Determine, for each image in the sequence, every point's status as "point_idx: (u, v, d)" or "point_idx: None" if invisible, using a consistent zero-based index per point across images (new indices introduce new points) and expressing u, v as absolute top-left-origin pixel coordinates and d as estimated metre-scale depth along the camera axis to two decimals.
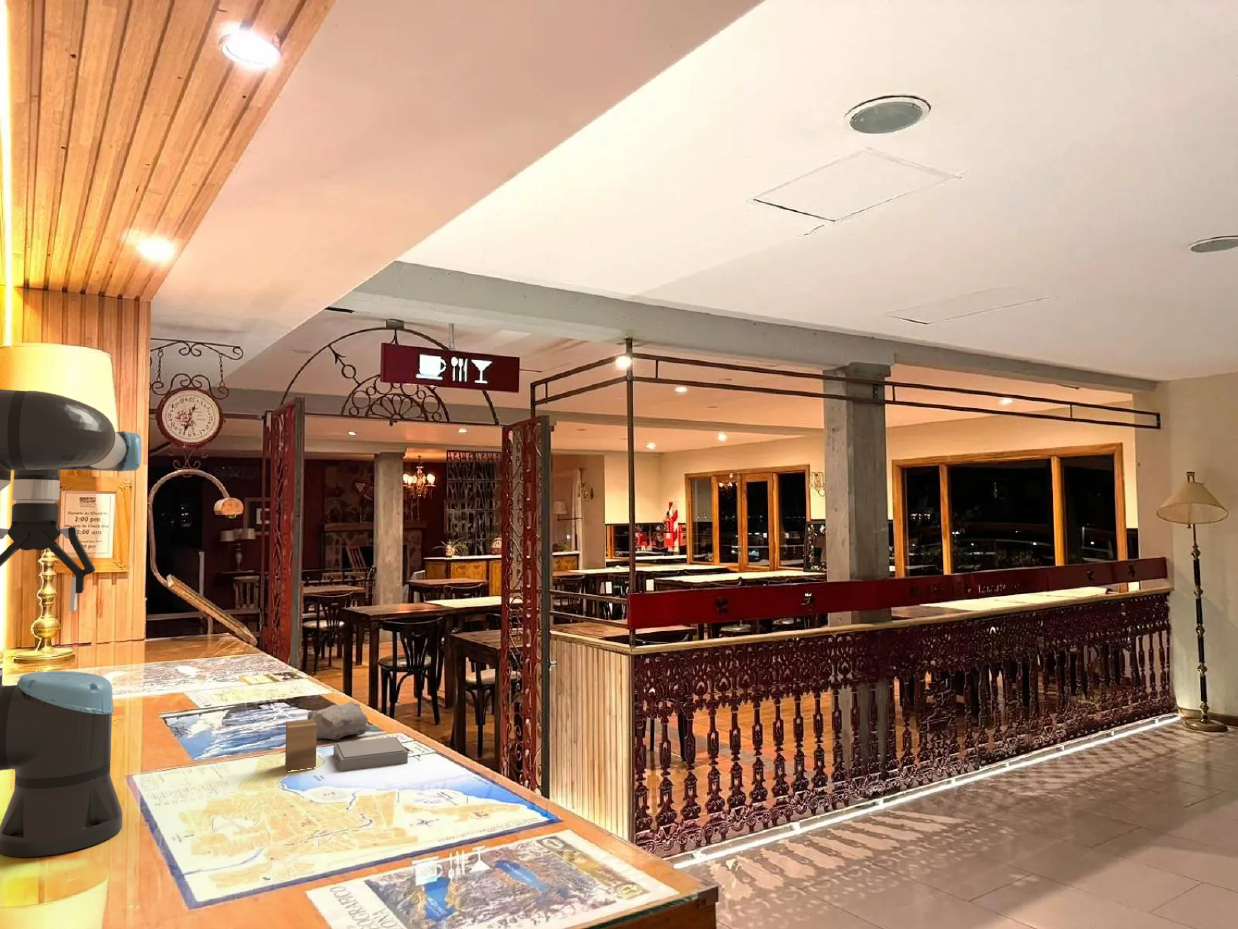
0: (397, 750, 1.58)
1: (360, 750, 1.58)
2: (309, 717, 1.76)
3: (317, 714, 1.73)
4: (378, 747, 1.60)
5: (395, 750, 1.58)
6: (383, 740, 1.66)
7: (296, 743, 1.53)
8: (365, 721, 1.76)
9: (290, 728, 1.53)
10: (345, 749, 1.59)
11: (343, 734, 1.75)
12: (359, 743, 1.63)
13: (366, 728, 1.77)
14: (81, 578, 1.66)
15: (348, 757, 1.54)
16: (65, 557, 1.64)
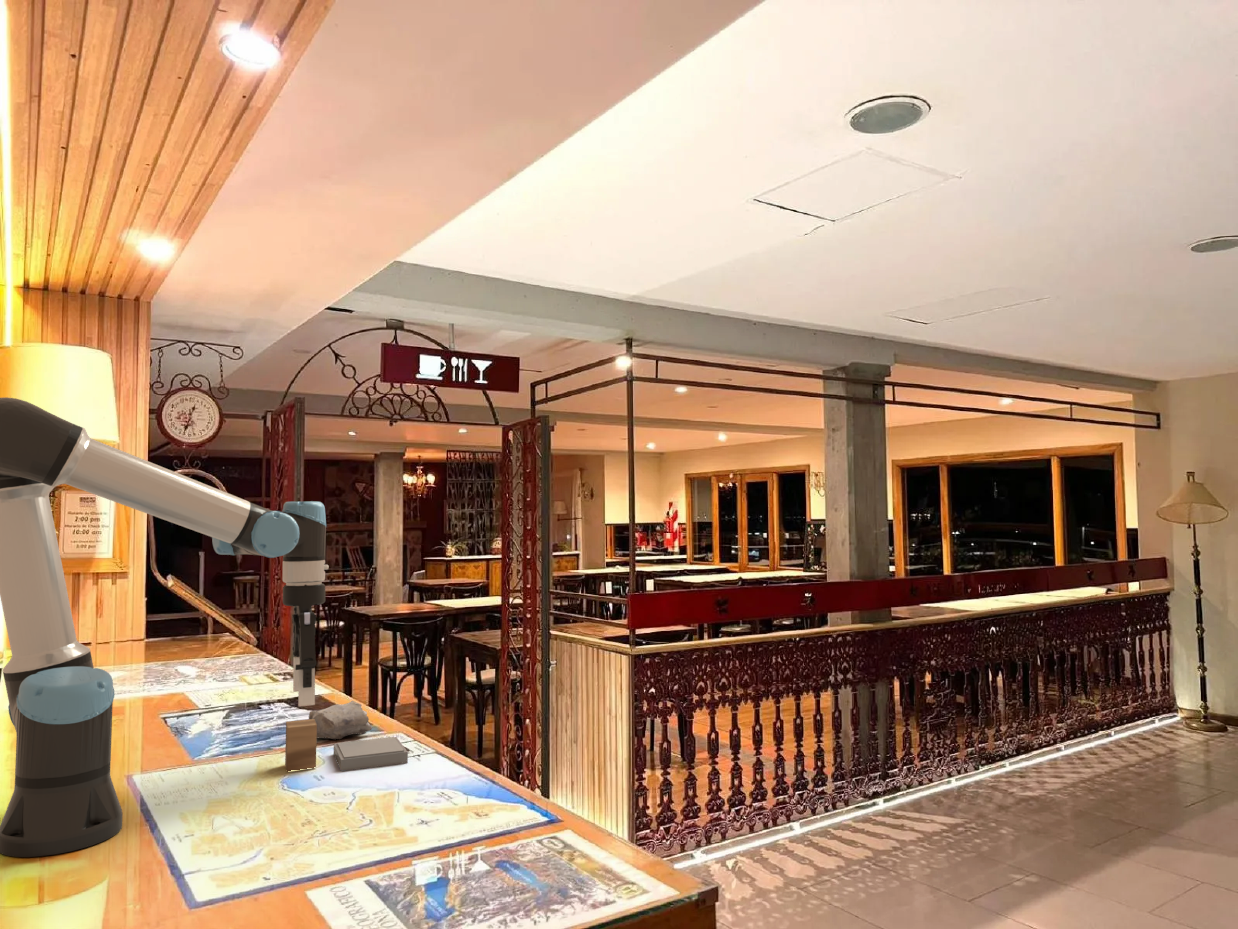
0: (397, 750, 1.58)
1: (360, 750, 1.58)
2: (310, 717, 1.76)
3: (318, 714, 1.73)
4: (378, 747, 1.60)
5: (395, 750, 1.58)
6: (383, 740, 1.66)
7: (296, 743, 1.53)
8: (366, 721, 1.76)
9: (290, 728, 1.53)
10: (345, 749, 1.59)
11: (344, 734, 1.75)
12: (359, 743, 1.63)
13: (368, 727, 1.77)
14: (303, 671, 1.49)
15: (348, 757, 1.54)
16: (299, 645, 1.52)
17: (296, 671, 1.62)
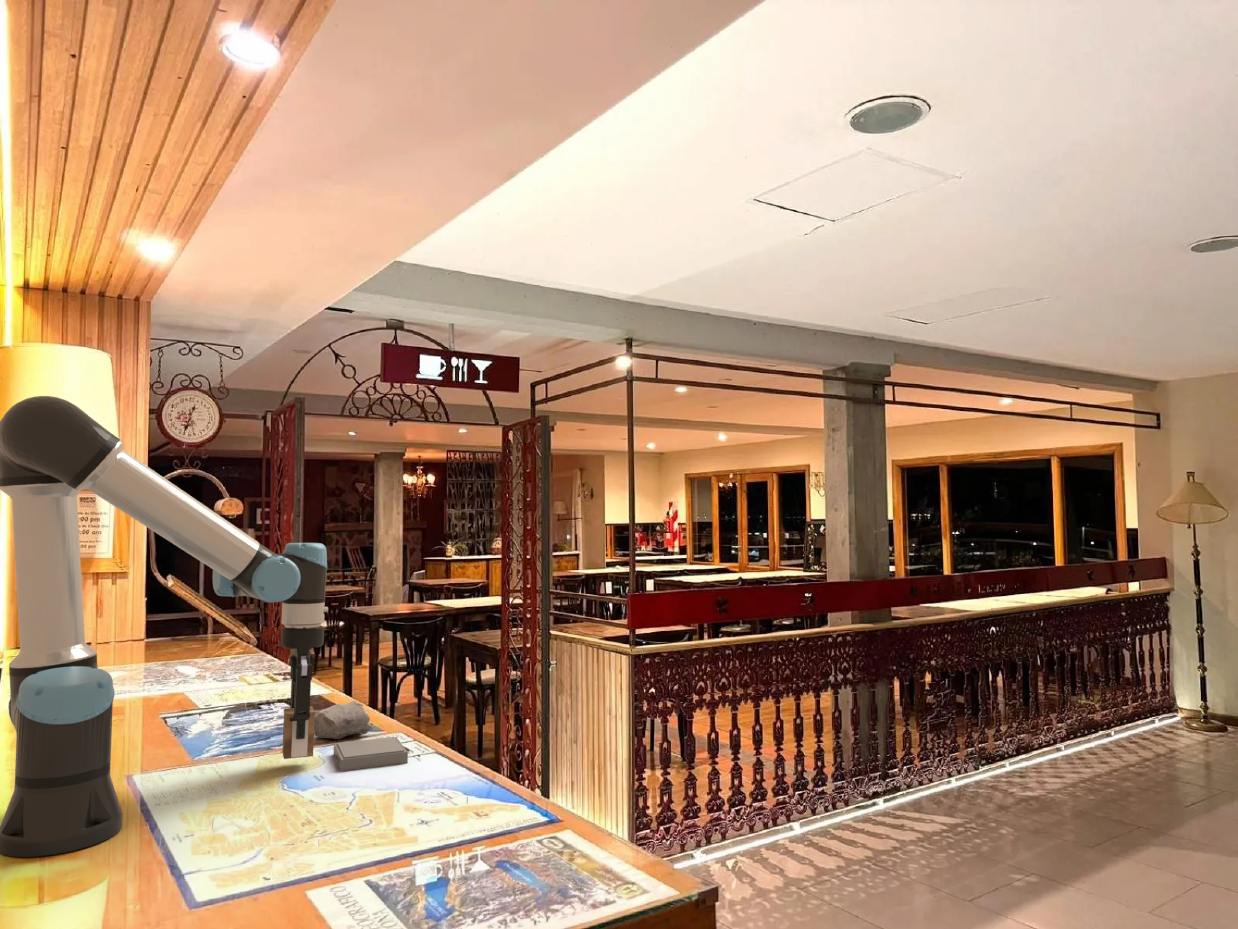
0: (397, 750, 1.58)
1: (360, 750, 1.58)
2: None
3: (319, 713, 1.74)
4: (378, 747, 1.60)
5: (395, 750, 1.58)
6: (383, 740, 1.66)
7: None
8: (367, 721, 1.76)
9: (288, 714, 1.53)
10: (345, 749, 1.59)
11: (345, 733, 1.75)
12: (359, 743, 1.63)
13: (369, 727, 1.77)
14: (297, 723, 1.52)
15: (348, 757, 1.54)
16: (294, 694, 1.53)
17: None
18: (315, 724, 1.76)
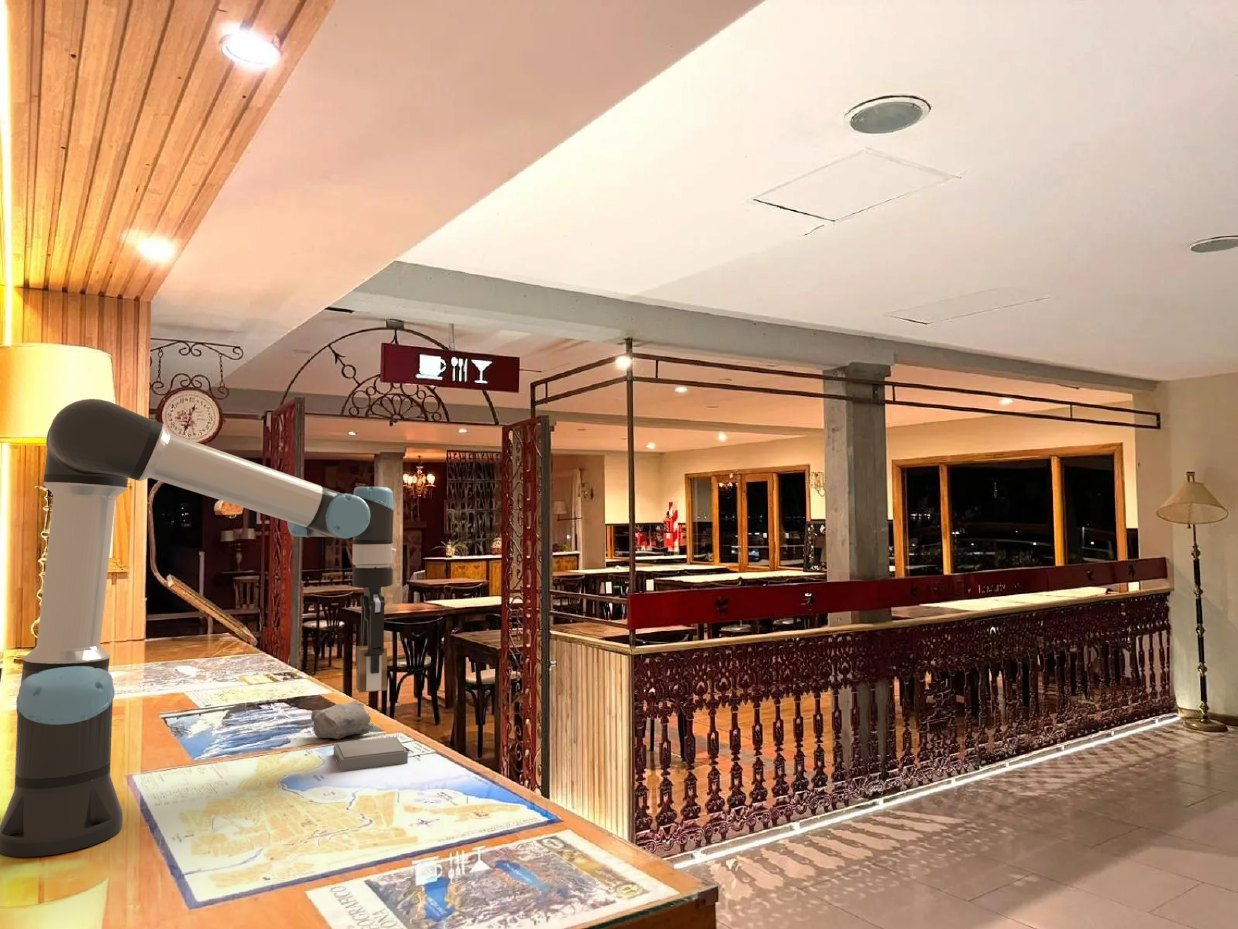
0: (397, 750, 1.58)
1: (360, 750, 1.58)
2: (313, 716, 1.76)
3: (320, 713, 1.74)
4: (378, 747, 1.60)
5: (395, 750, 1.58)
6: (383, 740, 1.66)
7: None
8: (368, 721, 1.77)
9: (362, 650, 1.59)
10: (345, 749, 1.59)
11: (346, 733, 1.75)
12: (359, 743, 1.63)
13: (369, 727, 1.78)
14: (371, 658, 1.58)
15: (348, 757, 1.54)
16: (368, 631, 1.59)
17: None
18: (316, 724, 1.76)
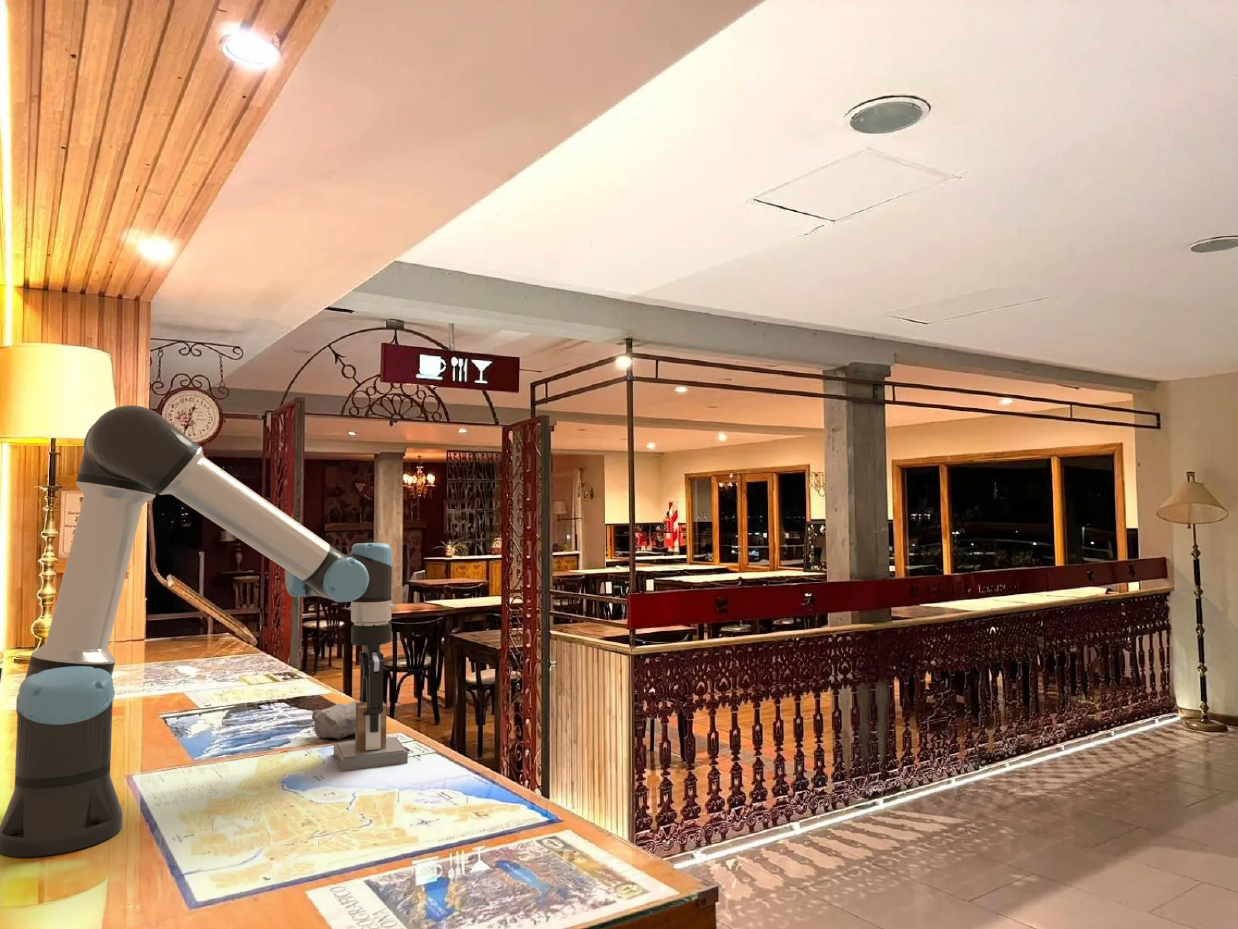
0: (397, 750, 1.58)
1: None
2: (313, 716, 1.77)
3: (321, 713, 1.74)
4: None
5: (395, 750, 1.58)
6: None
7: None
8: None
9: (362, 708, 1.59)
10: (345, 749, 1.59)
11: (347, 733, 1.76)
12: None
13: None
14: (370, 717, 1.58)
15: (348, 757, 1.54)
16: (367, 689, 1.59)
17: None
18: (317, 724, 1.76)
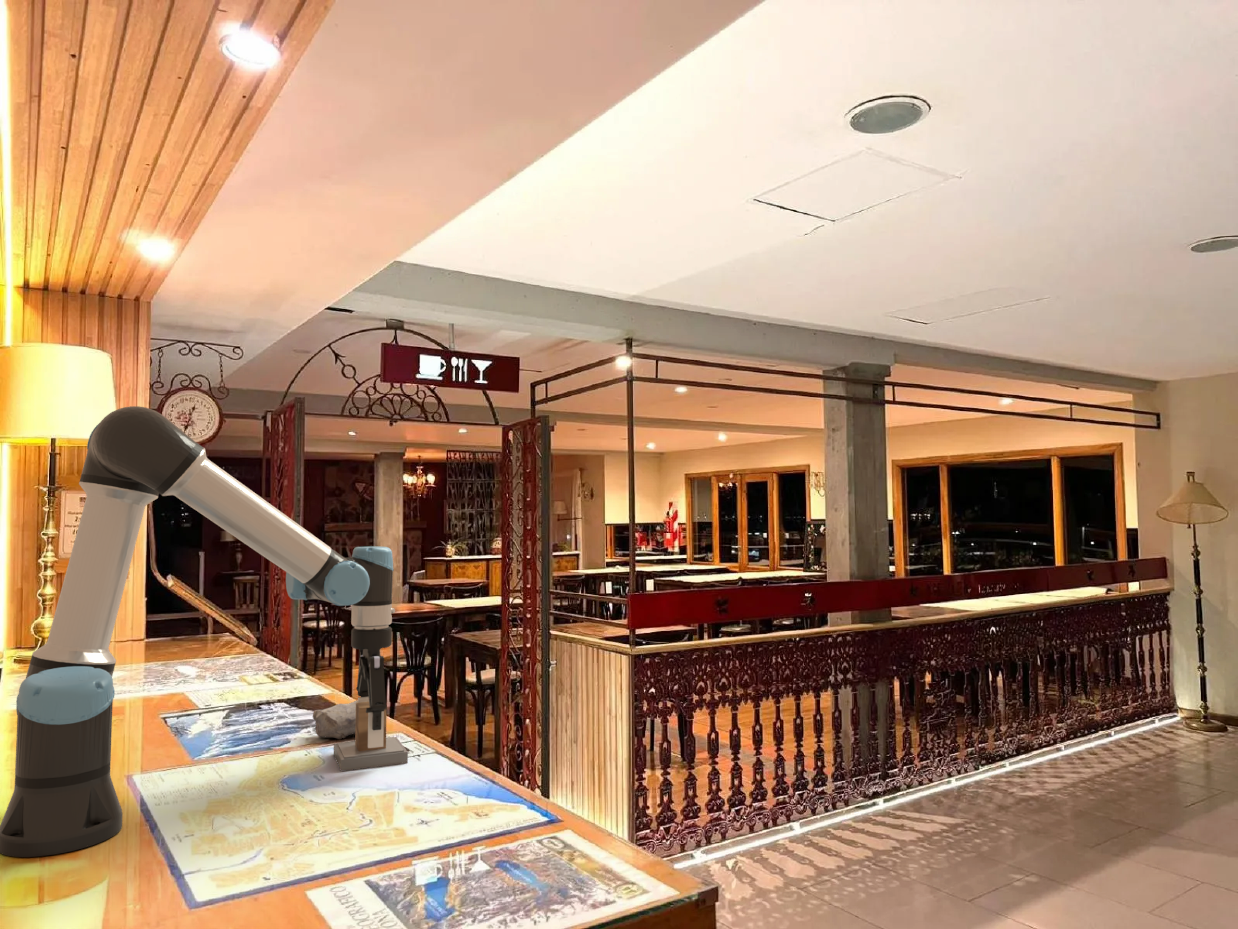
0: (397, 750, 1.58)
1: None
2: (314, 716, 1.77)
3: (322, 713, 1.74)
4: None
5: (395, 750, 1.58)
6: None
7: (367, 722, 1.59)
8: None
9: (362, 708, 1.59)
10: (345, 749, 1.59)
11: (347, 733, 1.76)
12: None
13: None
14: (373, 714, 1.54)
15: (348, 757, 1.54)
16: (368, 688, 1.57)
17: None
18: (318, 723, 1.76)
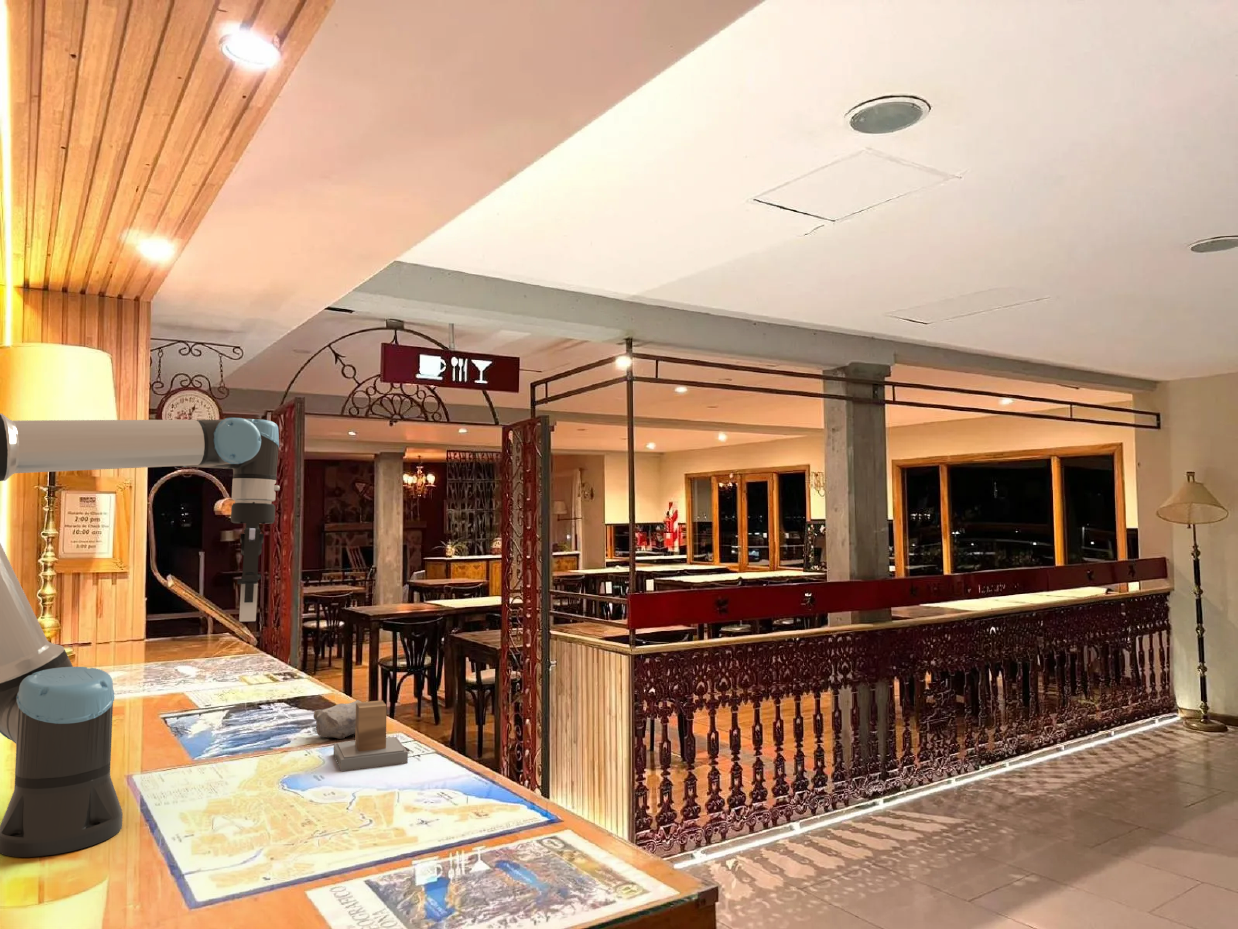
0: (397, 750, 1.58)
1: None
2: (315, 716, 1.77)
3: (322, 713, 1.74)
4: None
5: (395, 750, 1.58)
6: None
7: (367, 722, 1.59)
8: None
9: (362, 708, 1.59)
10: (345, 749, 1.59)
11: (348, 733, 1.76)
12: None
13: None
14: (245, 586, 1.48)
15: (348, 757, 1.54)
16: None
17: None
18: (318, 723, 1.76)
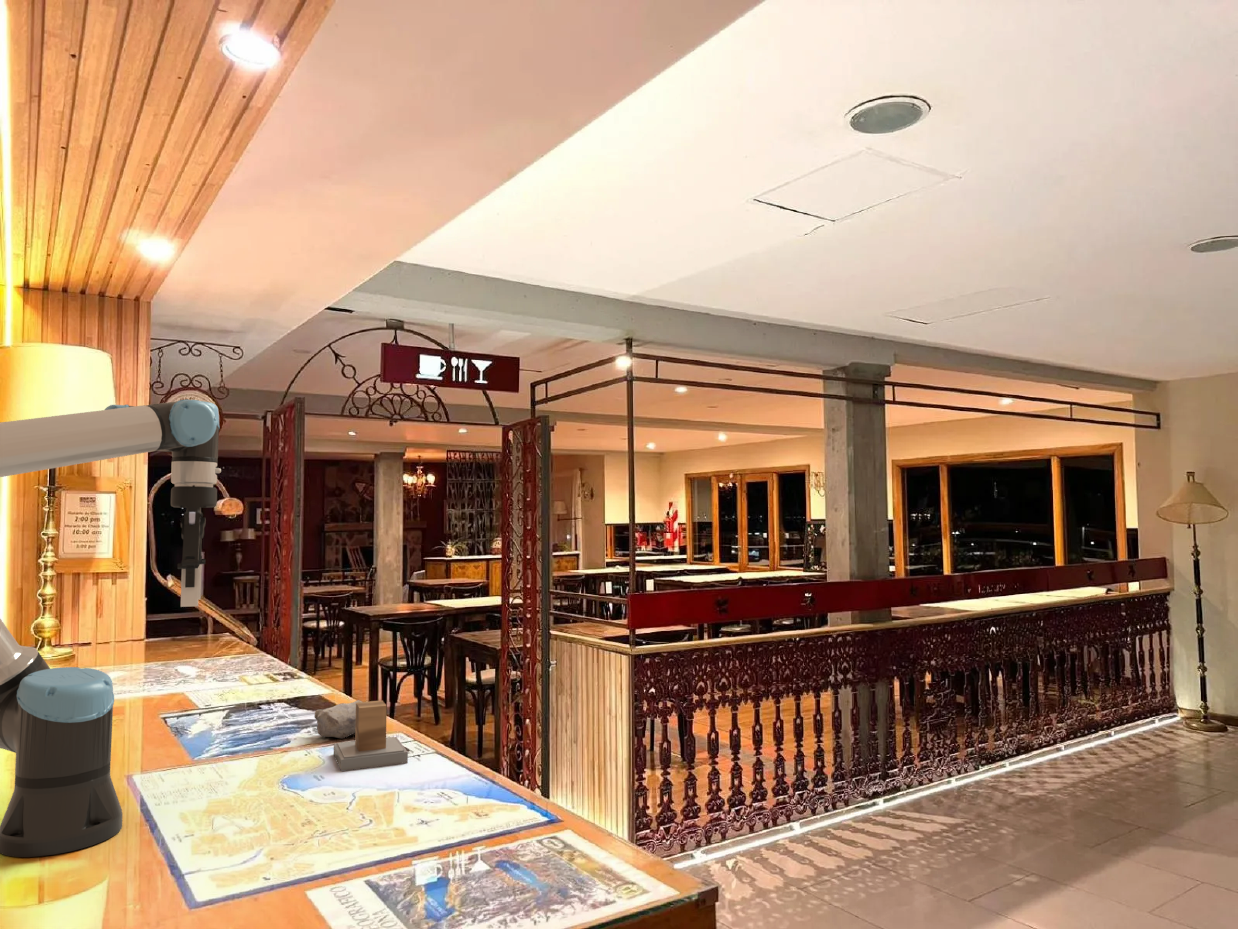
0: (397, 750, 1.58)
1: None
2: (316, 715, 1.77)
3: (323, 712, 1.75)
4: None
5: (395, 750, 1.58)
6: None
7: (367, 722, 1.59)
8: None
9: (362, 708, 1.59)
10: (345, 749, 1.59)
11: (349, 733, 1.76)
12: None
13: None
14: (185, 570, 1.45)
15: (348, 757, 1.54)
16: None
17: None
18: (319, 723, 1.76)
